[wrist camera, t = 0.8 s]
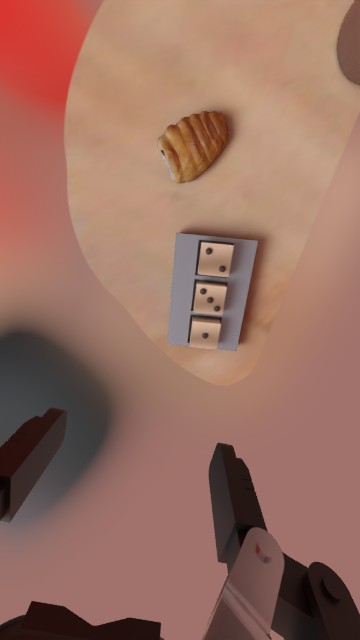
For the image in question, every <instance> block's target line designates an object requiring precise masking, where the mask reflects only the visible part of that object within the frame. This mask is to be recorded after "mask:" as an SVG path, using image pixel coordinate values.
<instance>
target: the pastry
mask: <svg viewBox="0 0 360 640" xmlns="http://www.w3.org/2000/svg"><path fill="white" fill-rule="evenodd" d="M227 137H228V128H227V124H226V119H225V116H224V115H223V114H220V113H218V112H215V111H213V112H207V111H203V112H201V113H200V114H192V115H191V116H190V117H184V118H182V119H181V120H180V121H179V123H177V124H176V125H170V126H168V127H167V130H166V131H165V133H164V134H163V135H162V136H161V137H159V138H158V141H157V143H158V147H159V149H160V151H161V152H162V157H163V159H164V161H165V162H166V164H167V166H168V167H169V172H170V176H171V177H172V179H173V180H174V181H175V182H176V183H184V182H189V181H192V180H194V179H195V178H196V177H198V176H199V175H200V174H201V173H202V172H203V171H205V170H206V169H207V168H208V167H209V165H210V164H211V163H212V162H213V161H214V160H215V159H216V157H217V156H218V155H219V154H220V153H221V151H222V150H223V148H224V146H225V145H226V141H227Z"/></svg>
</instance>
